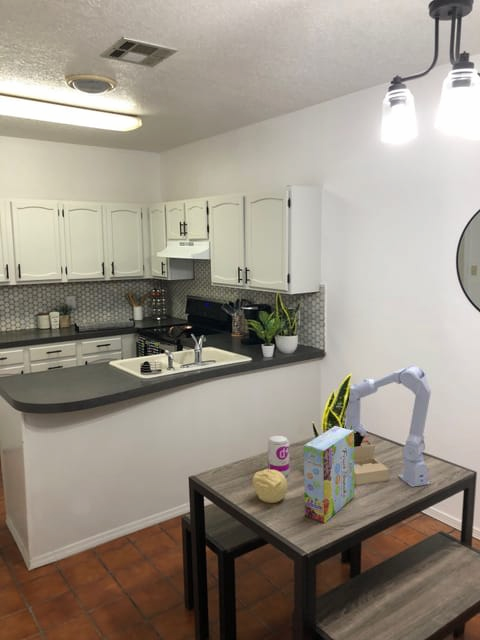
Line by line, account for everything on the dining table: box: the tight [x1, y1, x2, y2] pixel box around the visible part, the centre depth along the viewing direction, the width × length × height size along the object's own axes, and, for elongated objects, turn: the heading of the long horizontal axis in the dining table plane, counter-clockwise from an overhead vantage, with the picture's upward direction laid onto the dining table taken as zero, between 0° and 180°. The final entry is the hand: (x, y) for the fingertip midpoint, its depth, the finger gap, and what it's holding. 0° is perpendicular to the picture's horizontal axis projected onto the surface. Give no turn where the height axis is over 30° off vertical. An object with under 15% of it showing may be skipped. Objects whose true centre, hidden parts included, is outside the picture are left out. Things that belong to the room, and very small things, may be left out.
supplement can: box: [267, 434, 290, 478], centre depth 202 cm, size 8×8×15 cm
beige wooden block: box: [354, 438, 376, 460], centre depth 207 cm, size 6×14×5 cm
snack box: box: [303, 425, 355, 524], centre depth 176 cm, size 22×9×26 cm, turn 141°
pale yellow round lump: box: [251, 468, 288, 504], centre depth 183 cm, size 11×12×11 cm
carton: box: [354, 457, 390, 486], centre depth 200 cm, size 12×14×4 cm
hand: (352, 446), depth 210 cm, fingers open, 5 cm apart
